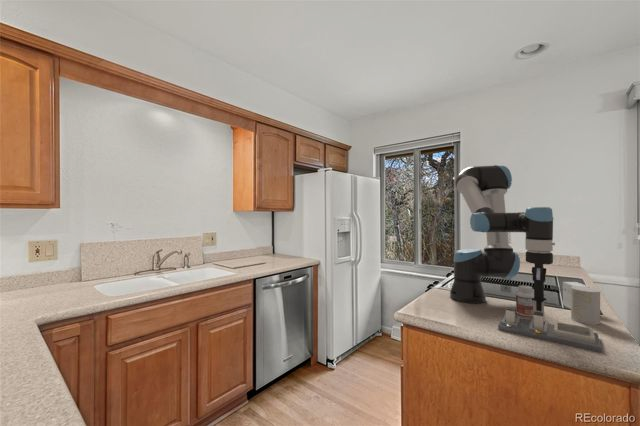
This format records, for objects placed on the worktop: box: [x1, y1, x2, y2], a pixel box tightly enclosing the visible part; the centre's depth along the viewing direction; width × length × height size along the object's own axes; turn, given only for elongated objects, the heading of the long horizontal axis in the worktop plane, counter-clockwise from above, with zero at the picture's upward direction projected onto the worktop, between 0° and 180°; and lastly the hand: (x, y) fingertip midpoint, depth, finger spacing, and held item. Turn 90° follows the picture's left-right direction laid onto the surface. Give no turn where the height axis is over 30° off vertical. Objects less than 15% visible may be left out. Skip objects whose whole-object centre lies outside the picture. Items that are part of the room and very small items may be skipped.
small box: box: [562, 281, 590, 310], centre depth 121 cm, size 8×6×10 cm
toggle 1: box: [505, 306, 516, 324], centre depth 103 cm, size 2×2×5 cm
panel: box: [497, 313, 603, 353], centre depth 97 cm, size 26×13×3 cm, turn 50°
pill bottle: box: [515, 284, 534, 317], centre depth 115 cm, size 6×6×11 cm
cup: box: [570, 286, 601, 326], centre depth 108 cm, size 8×8×12 cm
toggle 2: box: [533, 311, 543, 329], centre depth 98 cm, size 2×2×5 cm
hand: (539, 319), depth 99 cm, fingers closed
